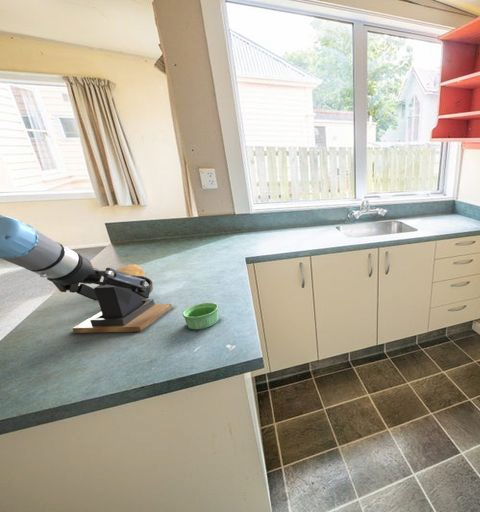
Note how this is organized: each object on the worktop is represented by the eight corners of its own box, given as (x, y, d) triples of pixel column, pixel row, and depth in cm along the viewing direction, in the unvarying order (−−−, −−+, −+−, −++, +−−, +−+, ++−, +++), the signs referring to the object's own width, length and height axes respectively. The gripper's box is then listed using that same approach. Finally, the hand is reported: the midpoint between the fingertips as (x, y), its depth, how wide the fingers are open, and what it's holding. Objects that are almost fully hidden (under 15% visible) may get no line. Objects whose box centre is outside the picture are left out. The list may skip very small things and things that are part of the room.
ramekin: (206, 313, 93) (203, 300, 92) (227, 318, 90) (225, 305, 89) (178, 327, 85) (175, 313, 84) (200, 333, 82) (197, 319, 81)
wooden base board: (73, 332, 82) (69, 321, 81) (114, 308, 95) (111, 299, 94) (141, 331, 83) (138, 320, 82) (172, 307, 96) (169, 298, 95)
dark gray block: (105, 323, 84) (93, 288, 81) (127, 308, 93) (117, 275, 89) (124, 322, 85) (113, 287, 81) (144, 307, 93) (135, 275, 90)
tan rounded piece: (151, 278, 120) (146, 259, 118) (141, 291, 108) (135, 271, 105) (121, 281, 116) (115, 262, 114) (107, 296, 104) (100, 275, 101)
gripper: (-8, 281, 66) (71, 309, 85) (115, 277, 69) (165, 304, 88) (8, 252, 70) (81, 285, 88) (125, 249, 73) (171, 281, 92)
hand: (123, 295), depth 88 cm, fingers open, 13 cm apart
